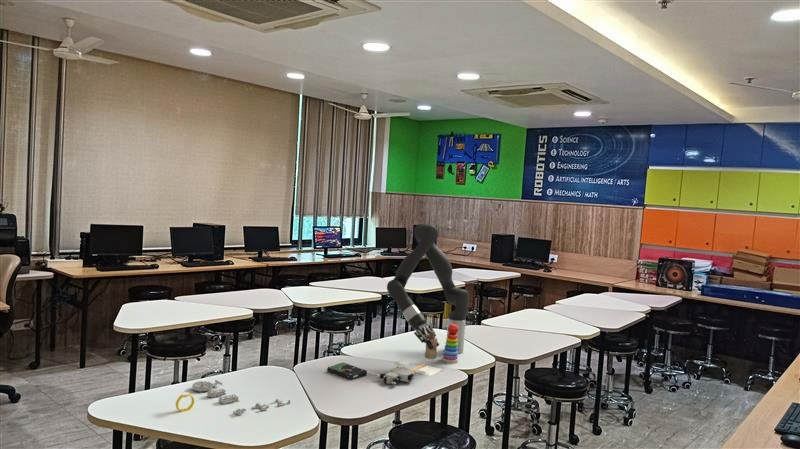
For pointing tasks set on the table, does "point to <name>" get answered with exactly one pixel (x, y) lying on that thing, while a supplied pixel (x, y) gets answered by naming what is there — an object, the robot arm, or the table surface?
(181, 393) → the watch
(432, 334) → the walnut skittle
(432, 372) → the lane mat
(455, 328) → the stacking toy
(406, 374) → the robot toy
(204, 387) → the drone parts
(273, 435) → the table surface
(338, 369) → the disk drive
